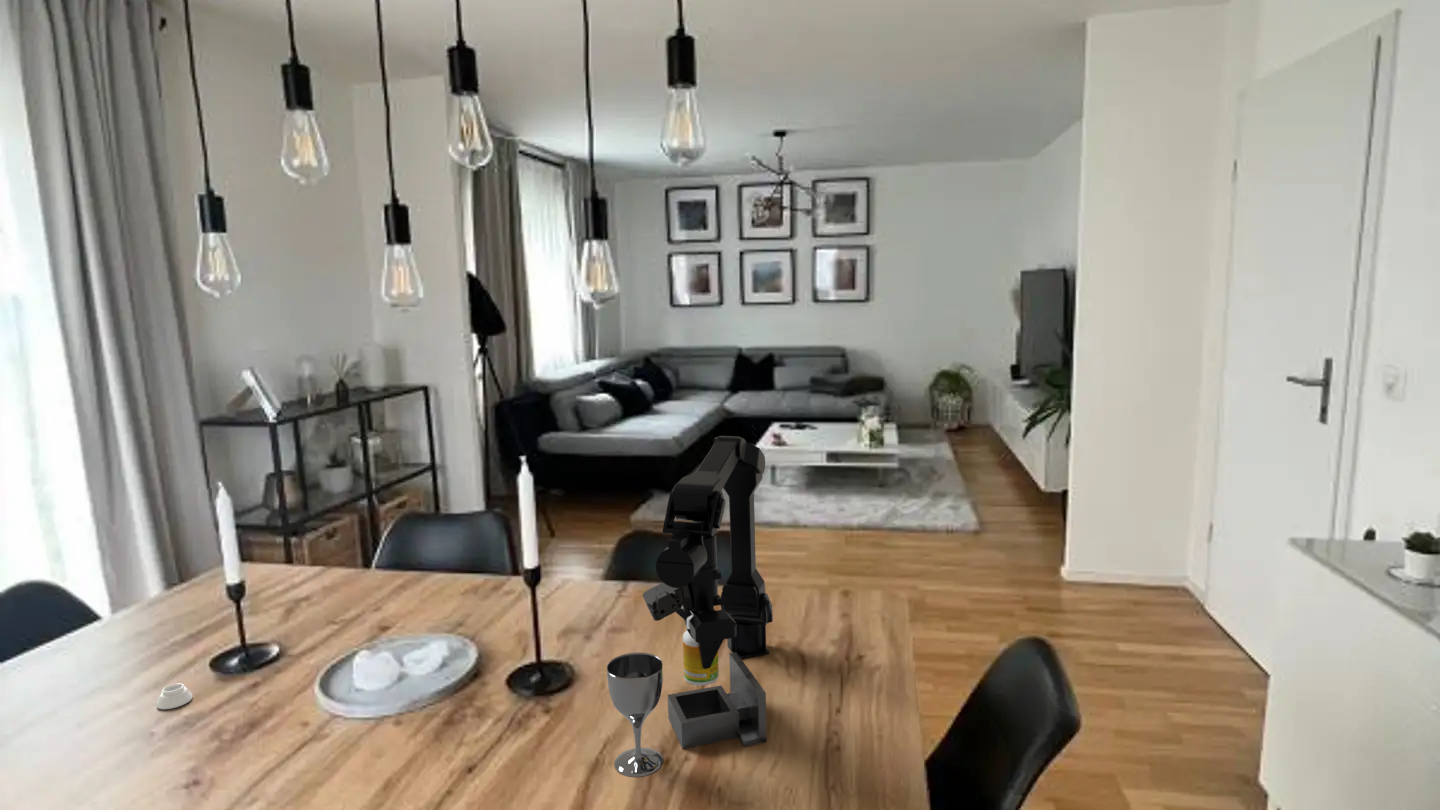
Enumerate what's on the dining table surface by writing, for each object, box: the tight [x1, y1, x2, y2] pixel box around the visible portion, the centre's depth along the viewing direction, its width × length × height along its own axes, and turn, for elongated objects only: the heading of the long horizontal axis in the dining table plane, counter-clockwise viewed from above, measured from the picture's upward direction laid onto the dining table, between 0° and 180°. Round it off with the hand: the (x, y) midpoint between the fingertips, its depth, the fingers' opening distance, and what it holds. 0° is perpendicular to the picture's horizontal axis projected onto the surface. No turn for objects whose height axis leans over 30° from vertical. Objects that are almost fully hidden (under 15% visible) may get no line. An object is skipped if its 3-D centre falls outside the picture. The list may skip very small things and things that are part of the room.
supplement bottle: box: [682, 615, 720, 687], centre depth 120 cm, size 5×5×10 cm
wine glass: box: [606, 652, 664, 778], centre depth 112 cm, size 8×8×15 cm
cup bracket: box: [667, 652, 767, 750], centre depth 121 cm, size 12×14×8 cm
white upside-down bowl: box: [156, 682, 193, 710], centre depth 133 cm, size 5×3×5 cm
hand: (701, 659), depth 120 cm, fingers closed on supplement bottle, 5 cm apart
